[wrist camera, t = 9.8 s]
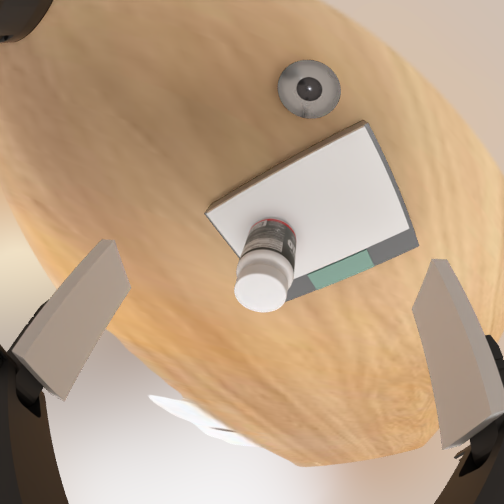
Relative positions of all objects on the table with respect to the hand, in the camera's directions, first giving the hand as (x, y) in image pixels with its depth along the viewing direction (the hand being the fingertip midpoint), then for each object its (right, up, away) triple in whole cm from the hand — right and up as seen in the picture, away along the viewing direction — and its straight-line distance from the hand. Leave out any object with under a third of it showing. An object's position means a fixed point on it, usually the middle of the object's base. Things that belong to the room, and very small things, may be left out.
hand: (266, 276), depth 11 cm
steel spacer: (+4, +16, +11) cm, 19 cm away
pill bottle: (+1, +2, +17) cm, 18 cm away
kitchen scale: (+6, +4, +18) cm, 20 cm away
